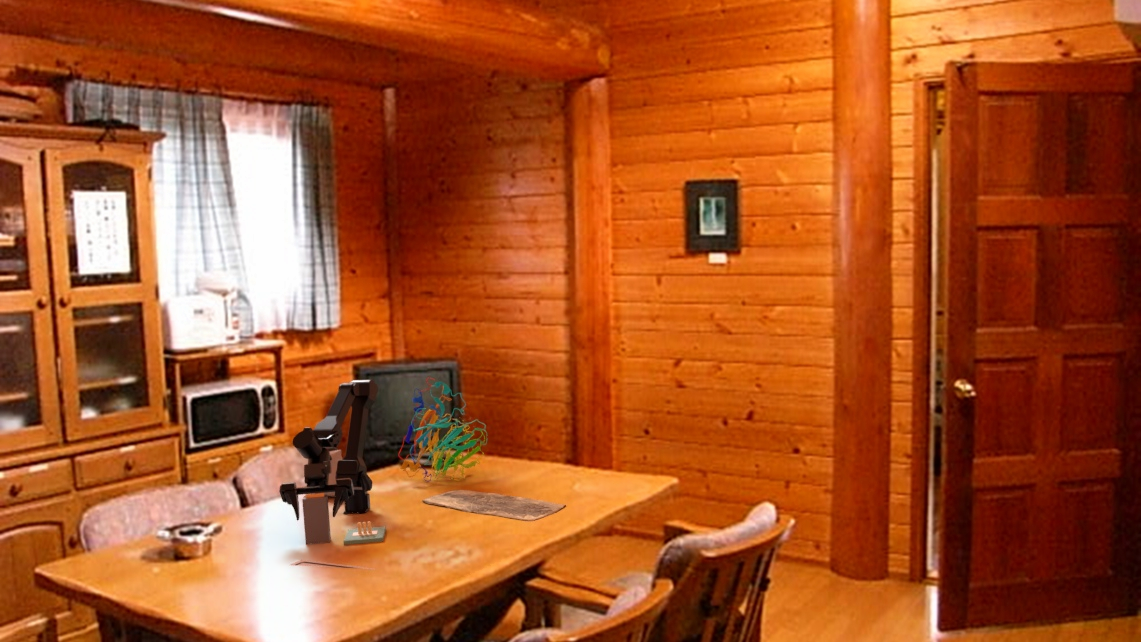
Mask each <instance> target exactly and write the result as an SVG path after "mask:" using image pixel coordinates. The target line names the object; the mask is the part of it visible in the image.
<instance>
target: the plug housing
mask: <svg viewBox="0 0 1141 642" xmlns="http://www.w3.org/2000/svg"><path fill="white" fill-rule="evenodd" d="M328 497H329V496H328V495H327V494H325V495H324V493H314V494H304V496H303V498H302V501H301V503H302V513H303V526H304V537H305V539H304V540H305V545H316V544H326V543H330V542H331V537H332V535H331V525H330V523H331V522H330V510H329V498H328Z"/></svg>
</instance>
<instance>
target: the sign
mask: <svg viewBox="0 0 1141 642" xmlns="http://www.w3.org/2000/svg"><path fill="white" fill-rule="evenodd" d="M290 566H299V567H300V566H302V567H322V568H341V569H345V568H347V569H363V570H365V569H366V570H375V568H373V567H366V566H358V565H357V566H356V565H347V564H339V563H333V562H324V561H318V560H317V561H315V560H306V559H300V560H298V561H295V562H293V563H290Z"/></svg>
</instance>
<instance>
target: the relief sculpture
mask: <svg viewBox="0 0 1141 642" xmlns="http://www.w3.org/2000/svg"><path fill="white" fill-rule="evenodd" d="M421 502H422V503H425V504H428V505H435V506H441V507H445V508H446V509H455V510H459V511H462V512H464V513H474V514H478V515H490V516H498V517H503V518H509V519H514V520H518V521H519V520H521V521H525V522H534V521H537V520H540V519H543V518H547V517H549V516H551V515H554V514H556V513H557V512H559V511H560V510H561V509H563V508H564V507H565V506H567V505H566V504H560V503H557V502H556V503H555V502H552V501H545V500H541V499H532V498H528V497H522V496H514V495H505V494H502V493H496V492H495V493H494V492H481V491H480V492H479V491H476V490H468V489H467V490H465V489H454V490H450V491H446V492H443V493H440V494H436V495H432V496H430V497H427V498H424V499H422V500H421Z"/></svg>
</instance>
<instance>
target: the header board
mask: <svg viewBox="0 0 1141 642" xmlns="http://www.w3.org/2000/svg"><path fill="white" fill-rule="evenodd" d="M386 531H387V527H386V526H385V525H384V526H375V527H374V526H373V527H372V521H367V522H366V521H363V522H362V521H359V522H357V528H350V529H347V532H346V534H345V535H344V539H343V545H344V546H346V545H347V546H348V545H357V544H358V545H359V544H370V543H379V542H380V543H381V542H384V538H385V534H386Z"/></svg>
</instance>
